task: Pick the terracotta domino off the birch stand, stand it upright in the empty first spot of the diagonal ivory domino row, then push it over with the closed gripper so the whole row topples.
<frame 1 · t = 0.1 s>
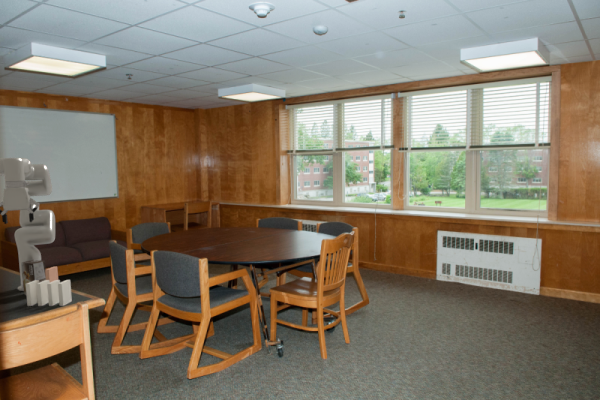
hand: (18, 222, 188), 37 cm above the table, tool pointing down, fingers open, 9 cm apart
stand: (53, 297, 195), on the table
domino 2: (34, 303, 187), on the table
domino 5: (65, 303, 186), on the table
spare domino: (52, 288, 195), point 4 cm above the table, touching stand
coffee box: (36, 294, 202), on the table
domino 3: (44, 303, 186), on the table
domino 4: (55, 303, 186), on the table
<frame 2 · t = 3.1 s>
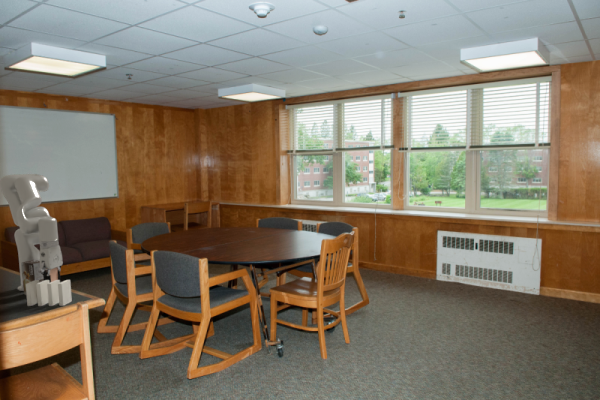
hand: (52, 281, 195), 8 cm above the table, tool pointing down, fingers closed on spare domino, 5 cm apart
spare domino: (52, 288, 195), point 4 cm above the table, touching gripper, stand
everything else where it was.
when the fingers open (5 cm above the table, at t = 9.3 s): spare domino stays where it is, on the table.
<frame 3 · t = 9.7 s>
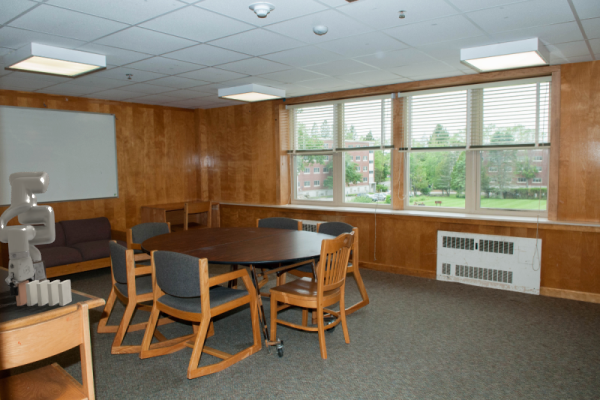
hand: (22, 292, 187), 5 cm above the table, tool pointing down, fingers open, 9 cm apart
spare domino: (23, 303, 187), on the table
everything else where it was.
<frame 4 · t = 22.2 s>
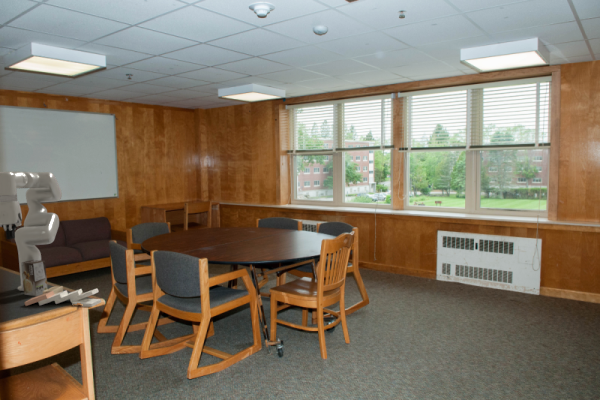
hand: (10, 238, 190), 29 cm above the table, tool pointing down, fingers closed
domino 2: (42, 301, 187), point 1 cm above the table, tilted 72°, touching domino 3, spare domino
domino 5: (77, 302, 185), on the table, tilted 90°, touching domino 4
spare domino: (29, 301, 186), point 1 cm above the table, tilted 73°, touching domino 2
domino 3: (57, 300, 187), point 1 cm above the table, tilted 73°, touching domino 2, domino 4
domino 4: (73, 299, 187), point 1 cm above the table, tilted 72°, touching domino 3, domino 5
everything else where it was.
at the end: domino 5 tilted 90°; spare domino point 0.8 cm above the table; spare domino inside the target area (1.2 cm from its centre), point 0.8 cm above the table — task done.
